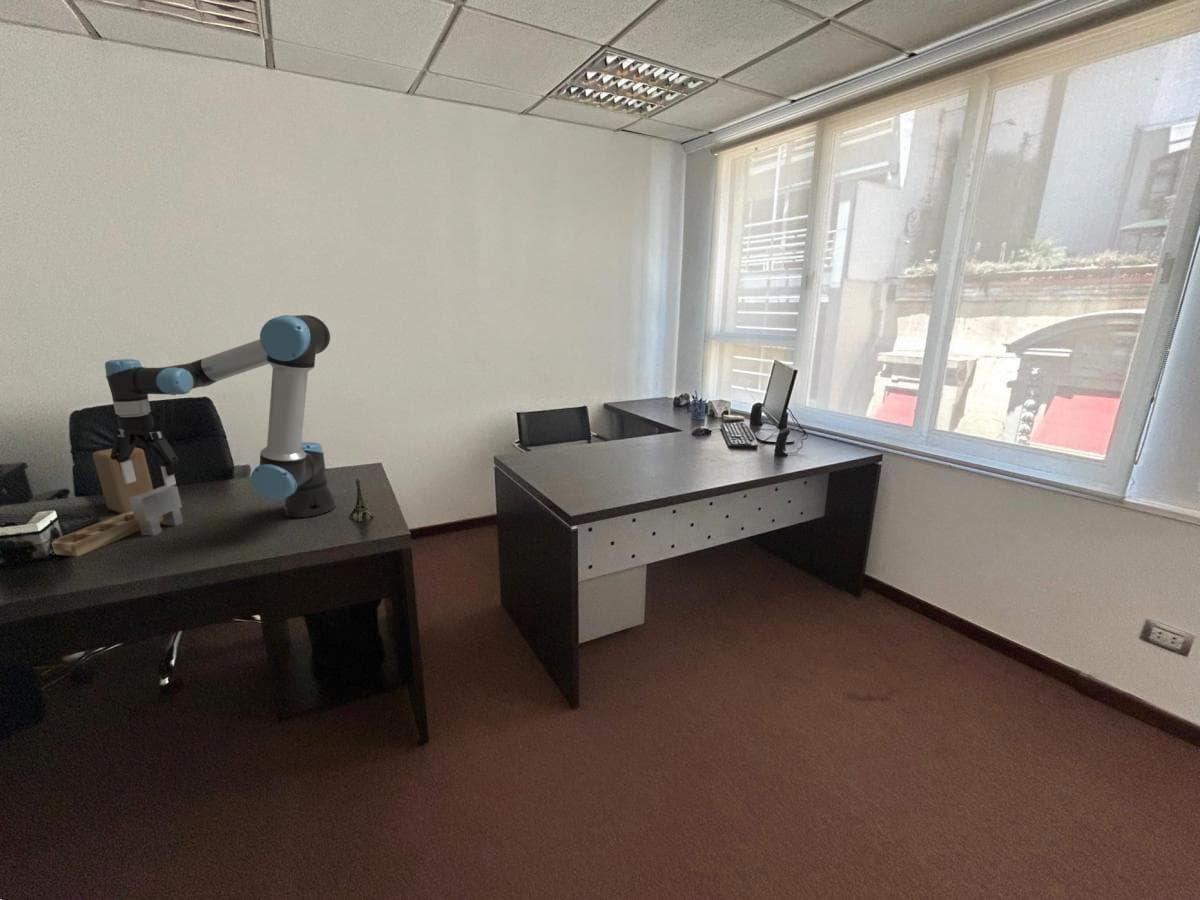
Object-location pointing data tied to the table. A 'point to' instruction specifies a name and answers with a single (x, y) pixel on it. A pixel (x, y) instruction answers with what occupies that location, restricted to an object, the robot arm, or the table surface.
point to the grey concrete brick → (157, 509)
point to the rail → (97, 535)
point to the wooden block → (121, 479)
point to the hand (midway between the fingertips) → (150, 484)
